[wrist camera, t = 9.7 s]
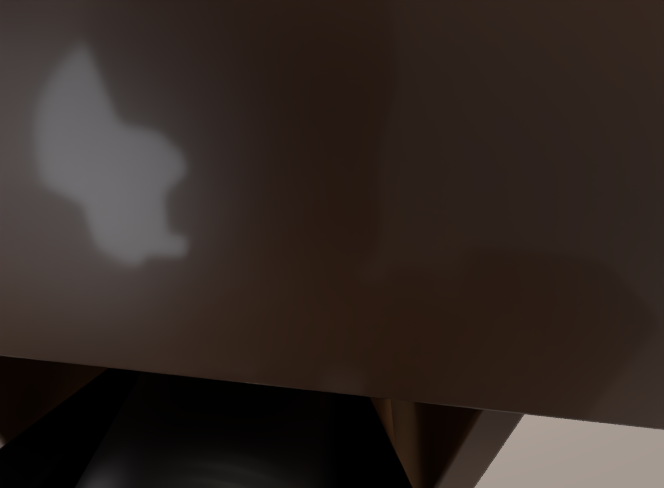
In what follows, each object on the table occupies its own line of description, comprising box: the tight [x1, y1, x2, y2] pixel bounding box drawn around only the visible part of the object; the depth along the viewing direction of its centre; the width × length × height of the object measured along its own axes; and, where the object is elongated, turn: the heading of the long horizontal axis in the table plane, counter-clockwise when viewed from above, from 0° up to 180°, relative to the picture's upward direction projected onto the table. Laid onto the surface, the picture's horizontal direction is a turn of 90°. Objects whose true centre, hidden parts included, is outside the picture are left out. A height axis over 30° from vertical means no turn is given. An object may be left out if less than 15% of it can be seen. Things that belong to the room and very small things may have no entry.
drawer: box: [0, 356, 524, 488], centre depth 10 cm, size 19×11×8 cm, turn 173°
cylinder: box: [75, 372, 338, 488], centre depth 8 cm, size 4×4×6 cm
